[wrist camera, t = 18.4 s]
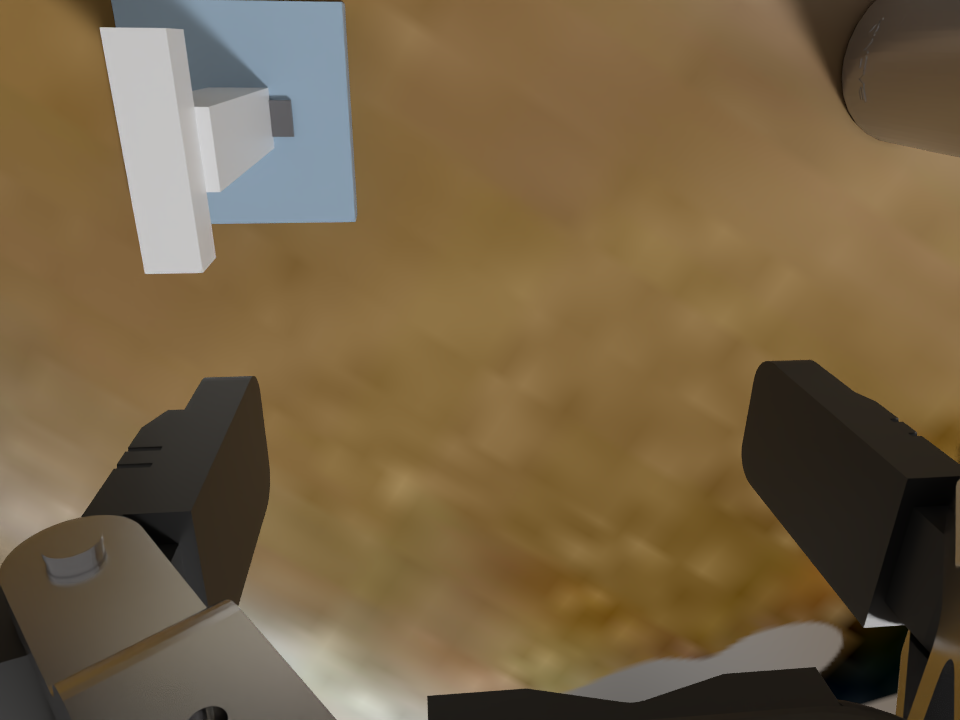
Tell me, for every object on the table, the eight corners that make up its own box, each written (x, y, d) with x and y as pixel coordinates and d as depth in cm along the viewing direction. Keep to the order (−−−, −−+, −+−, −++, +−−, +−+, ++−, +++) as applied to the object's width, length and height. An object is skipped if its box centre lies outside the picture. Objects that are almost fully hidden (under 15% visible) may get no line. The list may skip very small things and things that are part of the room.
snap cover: (344, 3, 38) (306, -24, 22) (357, 214, 42) (332, 308, 27) (125, 0, 36) (-69, -30, 21) (161, 216, 41) (22, 316, 26)
